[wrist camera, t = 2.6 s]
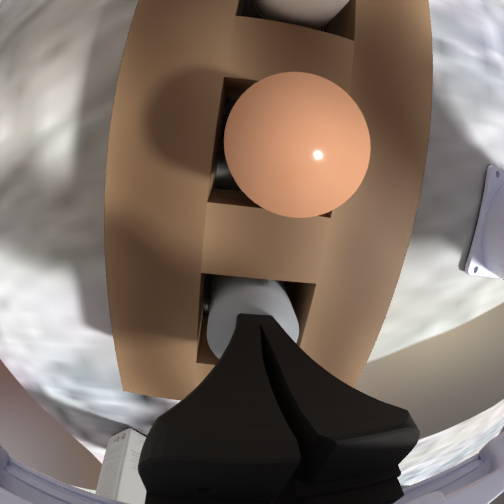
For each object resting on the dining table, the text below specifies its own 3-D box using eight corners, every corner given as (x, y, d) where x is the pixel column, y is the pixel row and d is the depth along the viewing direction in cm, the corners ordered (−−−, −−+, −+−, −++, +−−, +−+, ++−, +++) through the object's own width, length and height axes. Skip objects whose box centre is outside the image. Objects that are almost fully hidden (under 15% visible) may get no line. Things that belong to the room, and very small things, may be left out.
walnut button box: (389, -7, 10) (422, -33, 6) (328, 359, 17) (346, 402, 14) (187, -47, 8) (178, -86, 5) (140, 345, 16) (123, 390, 12)
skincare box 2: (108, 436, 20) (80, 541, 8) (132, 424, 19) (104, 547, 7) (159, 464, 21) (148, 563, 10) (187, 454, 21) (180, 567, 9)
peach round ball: (325, 112, 10) (377, 93, 6) (311, 199, 11) (356, 226, 7) (233, 96, 10) (235, 61, 5) (221, 187, 11) (215, 208, 7)
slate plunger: (286, 257, 14) (308, 299, 10) (274, 317, 16) (288, 370, 12) (215, 250, 14) (209, 290, 10) (210, 312, 15) (204, 365, 11)
